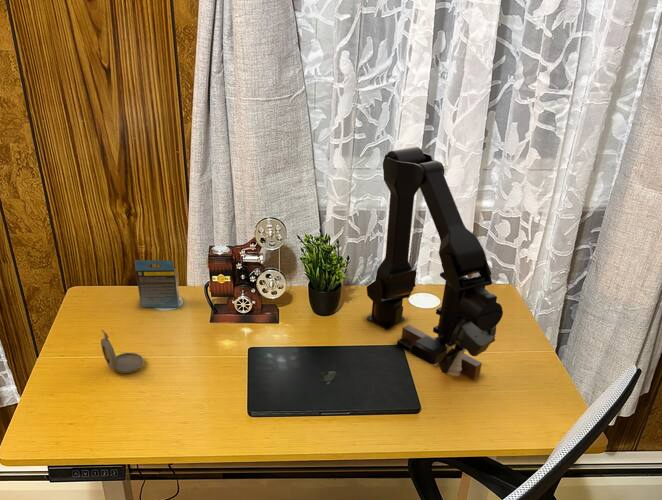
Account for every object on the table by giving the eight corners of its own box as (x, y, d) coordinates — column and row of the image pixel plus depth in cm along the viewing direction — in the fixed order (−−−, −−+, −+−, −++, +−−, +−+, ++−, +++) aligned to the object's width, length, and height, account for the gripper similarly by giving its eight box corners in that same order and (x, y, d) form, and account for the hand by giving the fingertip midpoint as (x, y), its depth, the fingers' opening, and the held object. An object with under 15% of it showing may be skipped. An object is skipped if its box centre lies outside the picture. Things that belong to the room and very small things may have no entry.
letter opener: (396, 345, 168) (397, 340, 167) (401, 342, 169) (402, 337, 168) (435, 366, 162) (436, 362, 161) (440, 363, 163) (441, 358, 162)
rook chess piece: (456, 378, 156) (471, 342, 154) (437, 370, 158) (451, 334, 155) (462, 375, 160) (476, 340, 157) (442, 367, 162) (456, 332, 159)
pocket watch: (150, 361, 161) (144, 321, 154) (126, 382, 155) (119, 342, 148) (118, 351, 163) (111, 311, 156) (94, 372, 157) (85, 331, 151)
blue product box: (180, 299, 180) (175, 252, 172) (178, 308, 177) (173, 260, 169) (142, 299, 179) (135, 252, 171) (140, 308, 176) (133, 260, 168)
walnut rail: (400, 340, 169) (402, 327, 167) (406, 337, 170) (408, 324, 168) (473, 380, 159) (476, 366, 157) (479, 376, 160) (482, 362, 158)
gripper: (460, 338, 138) (447, 407, 148) (517, 306, 148) (502, 372, 158) (413, 315, 144) (404, 383, 154) (472, 286, 154) (459, 351, 164)
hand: (444, 372), depth 157 cm, fingers closed, pressing on rook chess piece
